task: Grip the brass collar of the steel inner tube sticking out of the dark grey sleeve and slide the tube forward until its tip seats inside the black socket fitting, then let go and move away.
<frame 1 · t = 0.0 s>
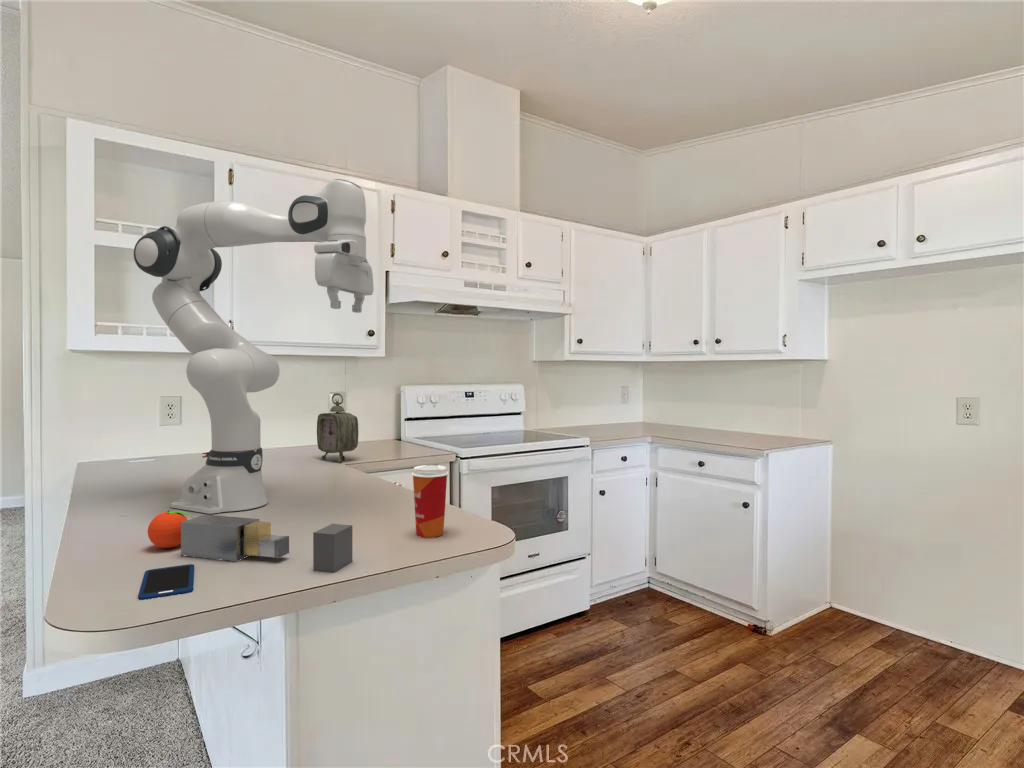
hand: (346, 310, 138), 48 cm above the worktop, tool pointing down, fingers open, 8 cm apart
tabletop clock: (338, 461, 219), on the worktop
sleeve: (220, 553, 110), on the worktop
paper cup: (429, 535, 124), on the worktop
clementine: (172, 548, 114), on the worktop
cell phone: (168, 585, 95), on the worktop
socket: (333, 565, 104), on the worktop
inner tube: (238, 536, 108), point 4 cm above the worktop, slide at 0.0 cm
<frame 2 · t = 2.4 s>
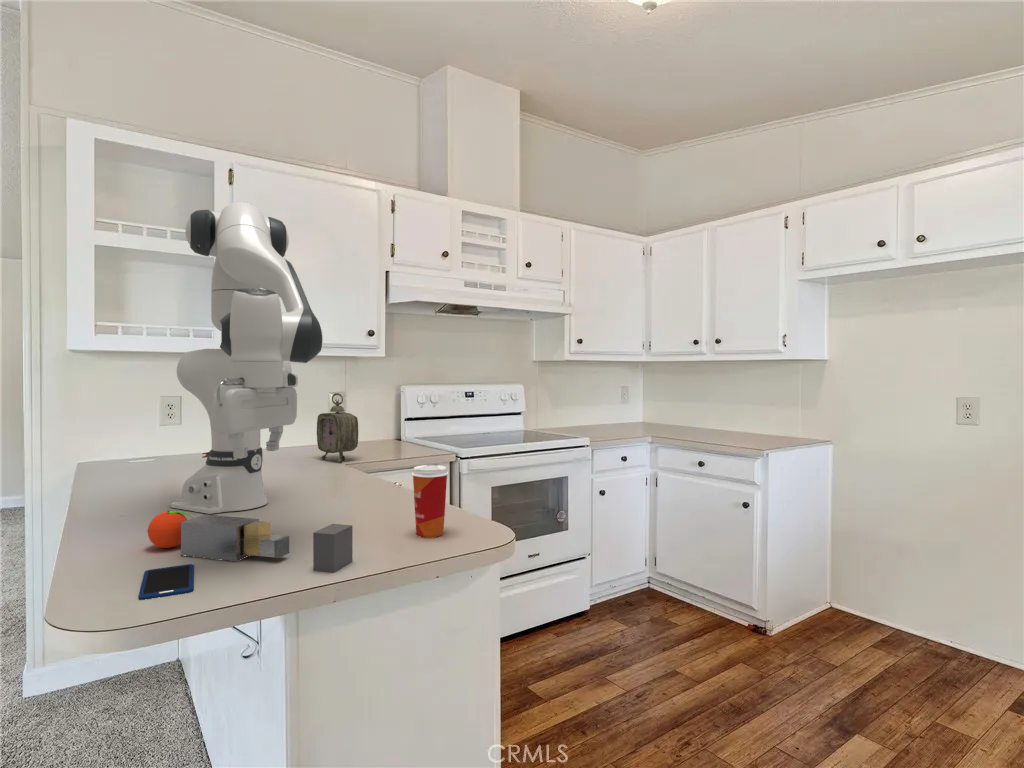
hand: (257, 454, 107), 19 cm above the worktop, tool pointing down, fingers open, 8 cm apart
nothing on the worktop moved.
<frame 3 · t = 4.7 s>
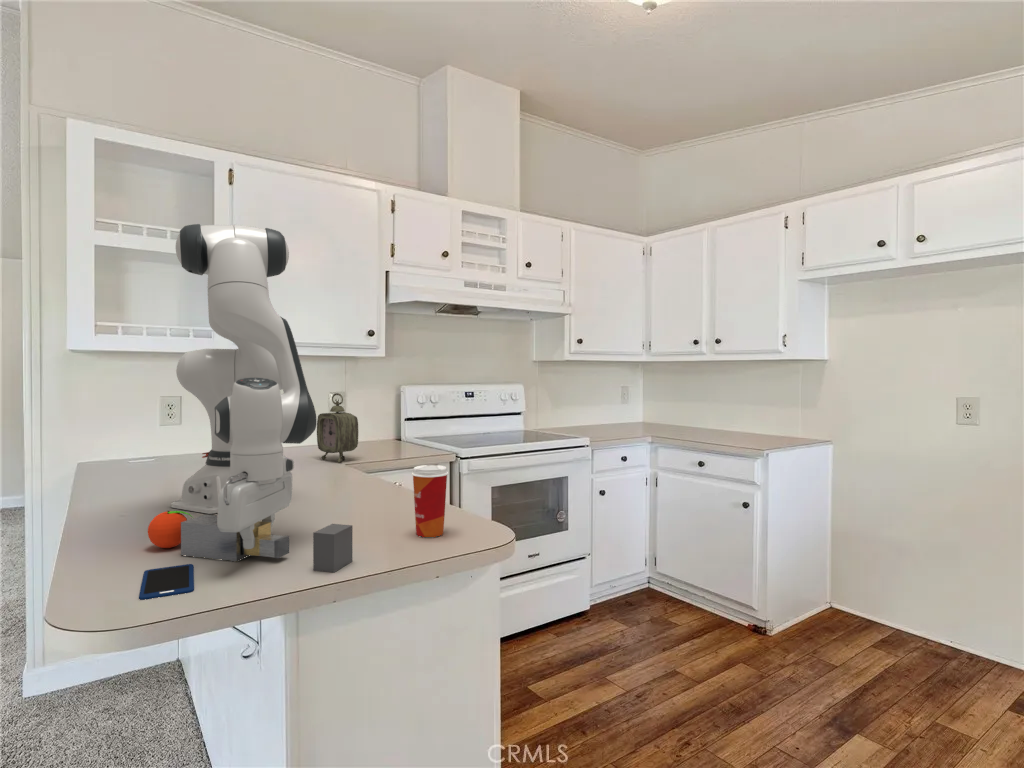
hand: (257, 543, 107), 3 cm above the worktop, tool pointing down, fingers closed on inner tube, 4 cm apart
inner tube: (238, 536, 108), point 4 cm above the worktop, slide at 0.0 cm, touching gripper
everything else where it was.
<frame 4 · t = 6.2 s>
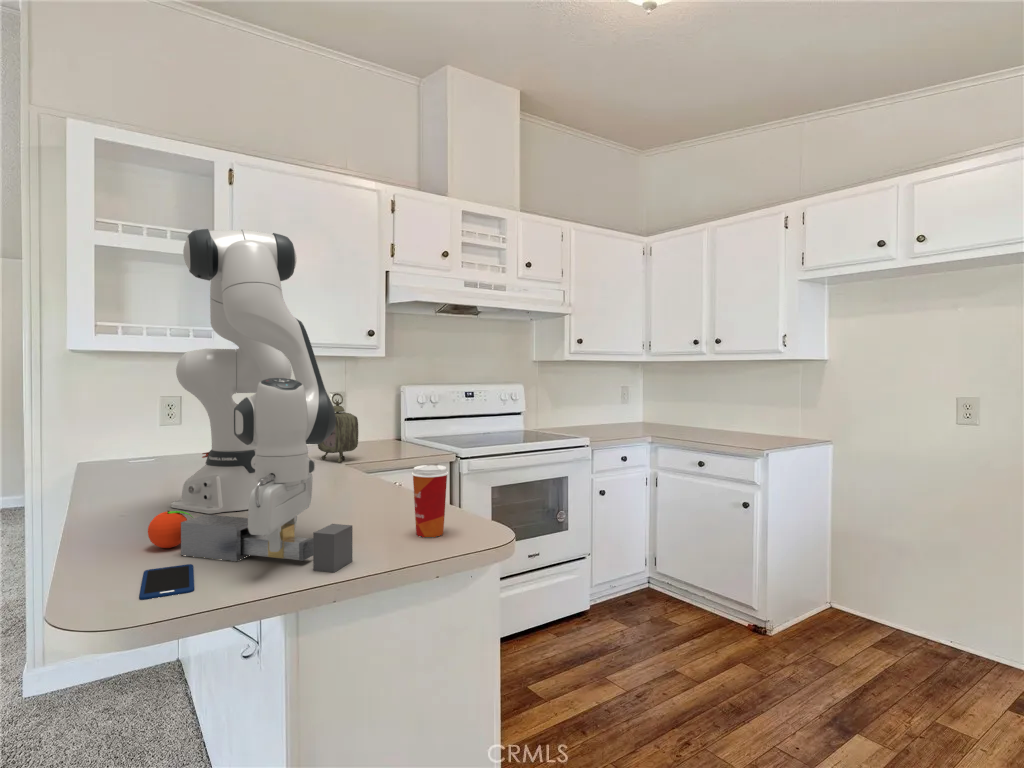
hand: (282, 545, 106), 3 cm above the worktop, tool pointing down, fingers closed on inner tube, 4 cm apart
inner tube: (262, 538, 107), point 4 cm above the worktop, slide at 5.0 cm, touching gripper
everything else where it was.
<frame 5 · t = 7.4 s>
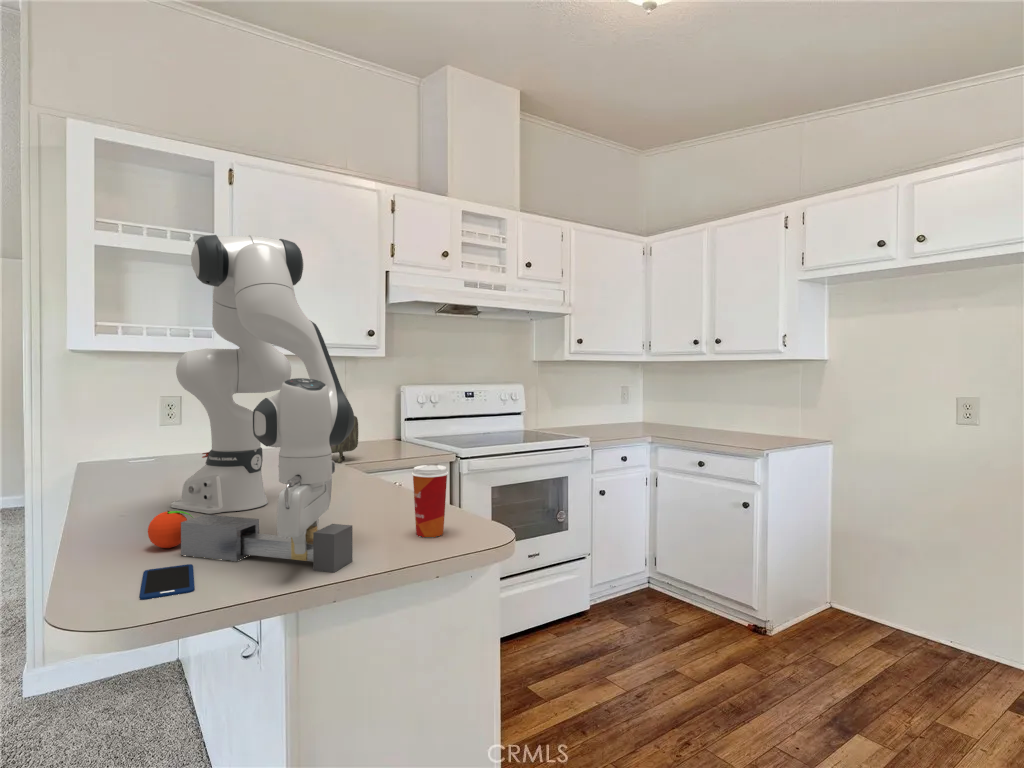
hand: (305, 548, 105), 3 cm above the worktop, tool pointing down, fingers closed on inner tube, 4 cm apart
inner tube: (284, 541, 106), point 4 cm above the worktop, slide at 9.7 cm, touching gripper
everything else where it was.
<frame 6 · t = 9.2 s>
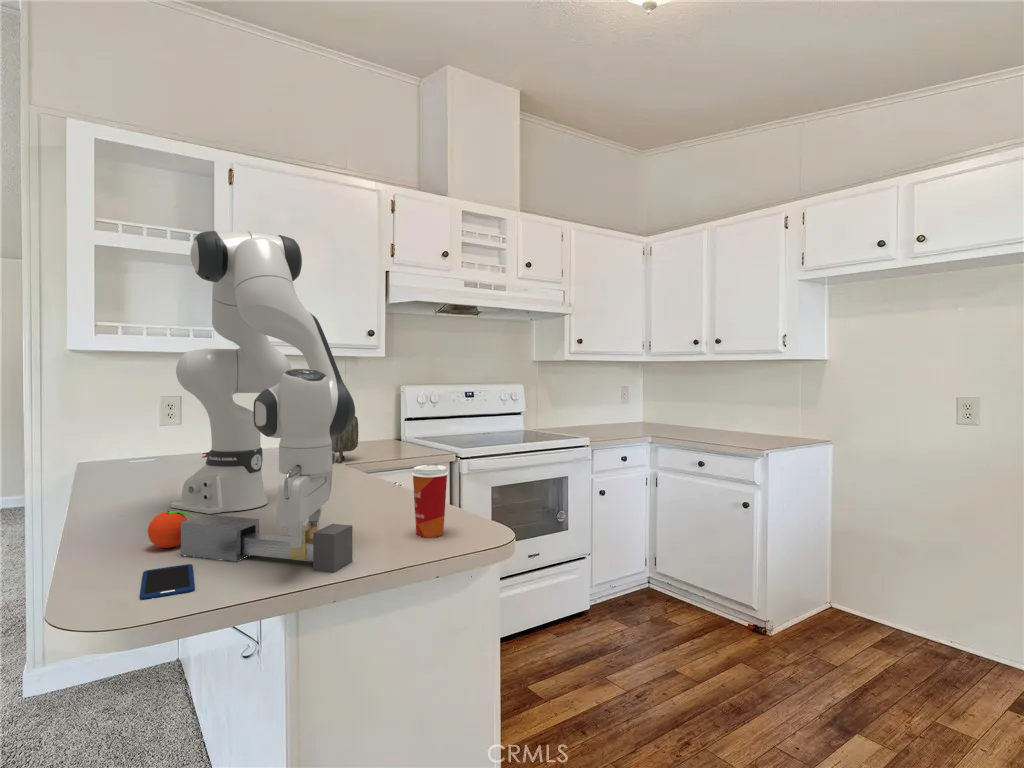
hand: (305, 538, 105), 4 cm above the worktop, tool pointing down, fingers open, 8 cm apart
inner tube: (284, 540, 106), point 4 cm above the worktop, slide at 9.6 cm
everything else where it was.
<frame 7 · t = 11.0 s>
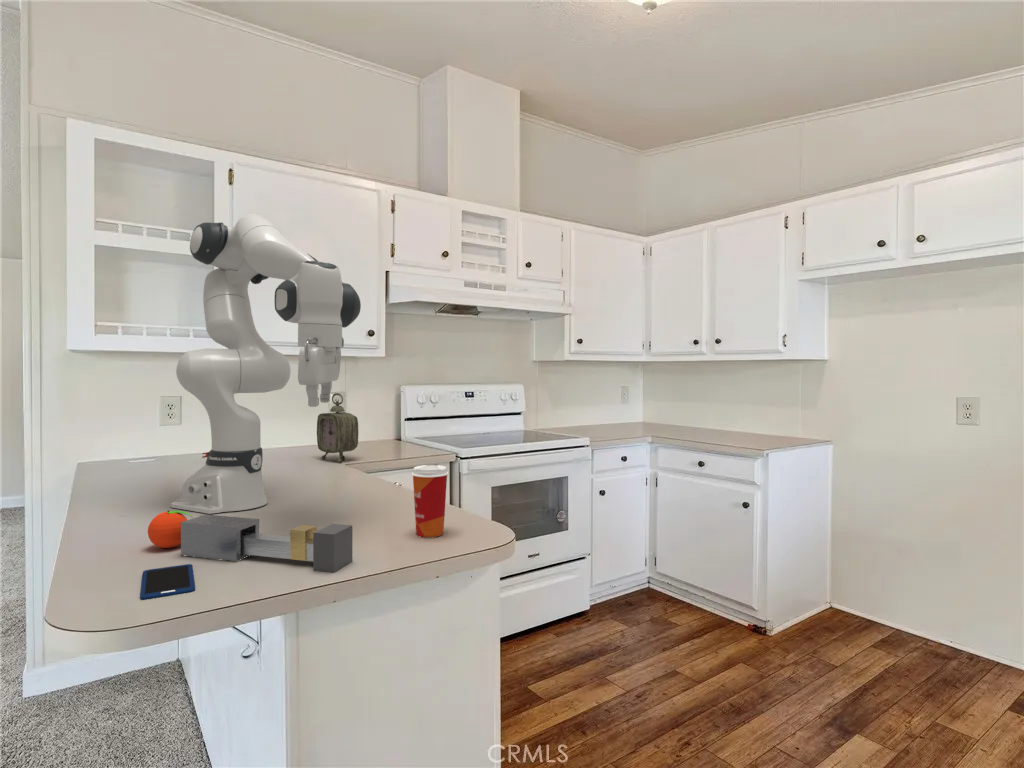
hand: (319, 404, 125), 27 cm above the worktop, tool pointing down, fingers open, 8 cm apart
nothing on the worktop moved.
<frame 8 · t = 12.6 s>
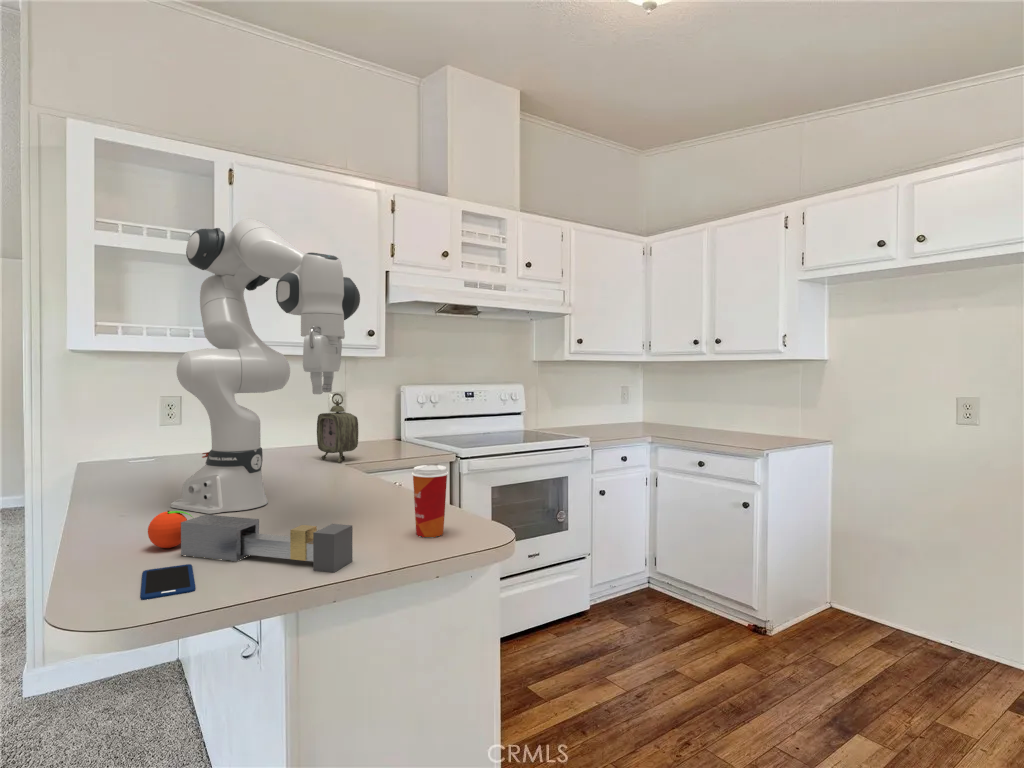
hand: (322, 393, 127), 29 cm above the worktop, tool pointing down, fingers open, 8 cm apart
nothing on the worktop moved.
at the end: inner tube slide at 9.6 cm; inner tube 0.4 cm from the target spot, resting on sleeve; the gripper is holding nothing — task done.
